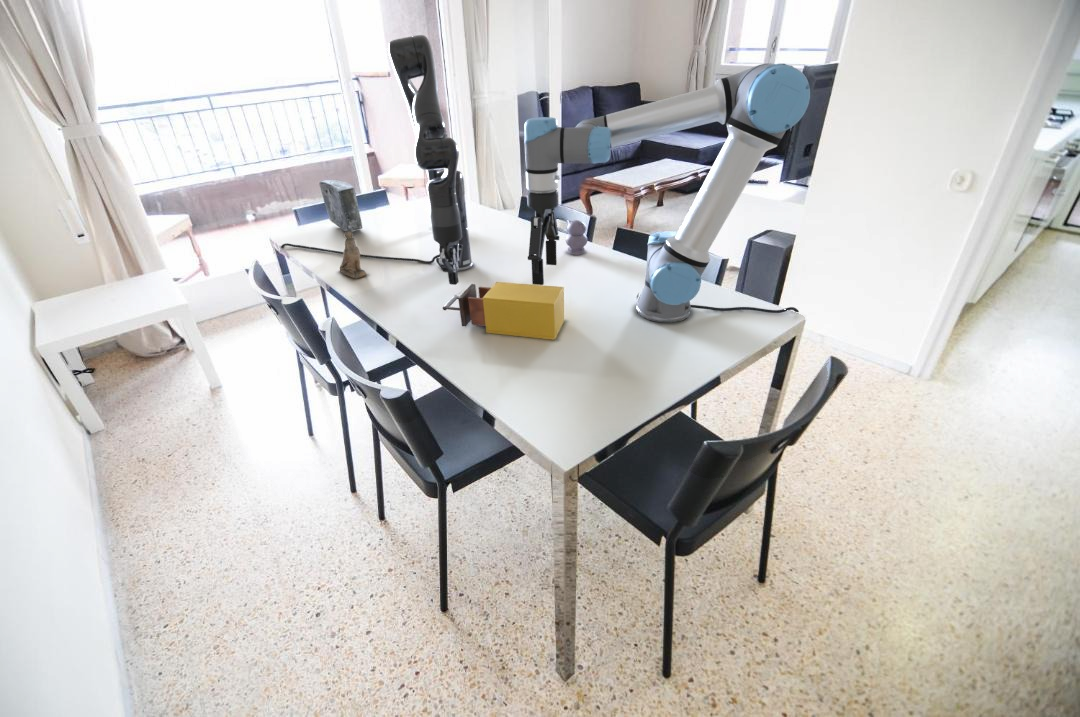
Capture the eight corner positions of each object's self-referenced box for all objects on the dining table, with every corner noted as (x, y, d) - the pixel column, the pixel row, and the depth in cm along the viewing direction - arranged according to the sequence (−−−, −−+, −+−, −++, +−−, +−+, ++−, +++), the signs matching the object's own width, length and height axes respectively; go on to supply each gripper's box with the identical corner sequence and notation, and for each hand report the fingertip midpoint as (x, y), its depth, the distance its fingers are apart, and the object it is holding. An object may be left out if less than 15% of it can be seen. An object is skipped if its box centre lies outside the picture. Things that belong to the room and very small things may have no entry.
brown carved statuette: (368, 281, 178) (362, 235, 166) (353, 285, 175) (347, 238, 163) (352, 266, 184) (346, 221, 172) (338, 270, 181) (331, 224, 169)
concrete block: (367, 234, 218) (357, 187, 208) (347, 238, 214) (336, 190, 203) (348, 221, 237) (338, 177, 226) (329, 225, 232) (318, 180, 222)
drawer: (443, 324, 140) (439, 296, 136) (457, 309, 148) (453, 282, 144) (524, 332, 134) (522, 303, 130) (534, 316, 142) (532, 288, 138)
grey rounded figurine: (591, 251, 189) (592, 220, 183) (578, 257, 185) (578, 225, 178) (574, 246, 195) (574, 216, 188) (561, 252, 190) (560, 221, 183)
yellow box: (486, 332, 137) (482, 297, 131) (499, 315, 146) (496, 281, 140) (554, 340, 132) (554, 303, 127) (564, 321, 141) (563, 286, 136)
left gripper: (448, 229, 122) (457, 294, 132) (468, 215, 133) (475, 275, 142) (421, 228, 124) (431, 292, 133) (443, 213, 135) (451, 273, 144)
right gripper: (544, 203, 107) (547, 294, 118) (569, 178, 127) (569, 258, 138) (511, 202, 109) (516, 292, 120) (541, 178, 129) (543, 256, 140)
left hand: (454, 283), depth 138 cm, fingers closed
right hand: (545, 274), depth 129 cm, fingers open, 13 cm apart
